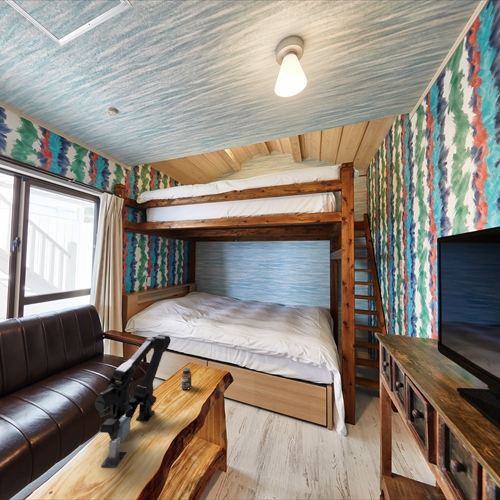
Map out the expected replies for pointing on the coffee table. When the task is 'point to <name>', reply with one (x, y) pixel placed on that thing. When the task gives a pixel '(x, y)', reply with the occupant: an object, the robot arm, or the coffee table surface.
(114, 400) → the robot arm
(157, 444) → the coffee table surface
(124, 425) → the grey block on base
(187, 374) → the supplement bottle
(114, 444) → the post
